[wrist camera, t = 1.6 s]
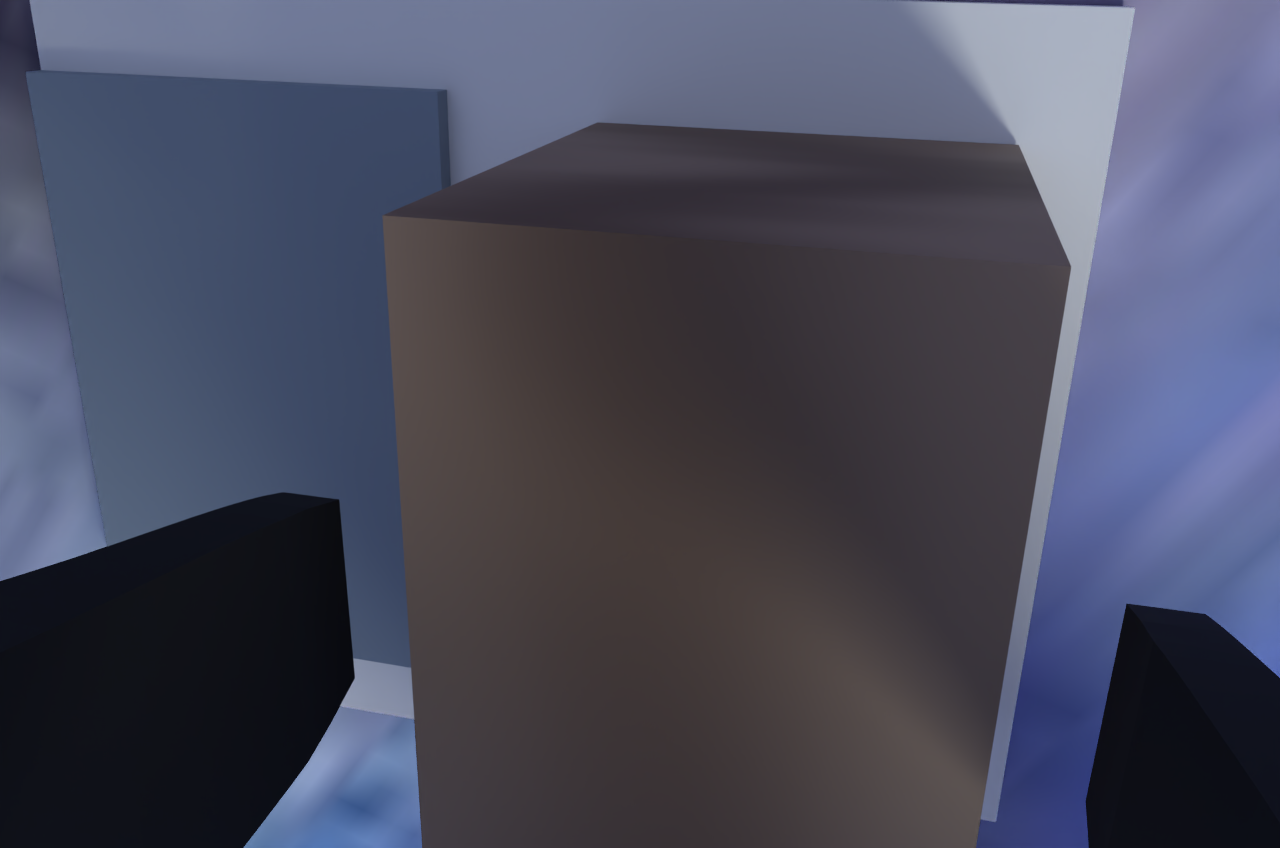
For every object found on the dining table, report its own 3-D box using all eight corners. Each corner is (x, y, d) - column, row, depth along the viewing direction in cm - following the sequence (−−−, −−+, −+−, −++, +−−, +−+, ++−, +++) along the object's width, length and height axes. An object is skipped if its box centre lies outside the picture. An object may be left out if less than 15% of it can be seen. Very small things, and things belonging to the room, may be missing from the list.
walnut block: (1017, 144, 13) (1071, 267, 8) (936, 726, 16) (932, 1110, 11) (597, 122, 14) (383, 215, 9) (593, 670, 17) (431, 993, 12)
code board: (1127, 6, 13) (1135, 7, 12) (994, 794, 17) (996, 824, 16) (57, -24, 16) (24, -23, 15) (163, 652, 20) (140, 672, 19)
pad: (447, 89, 14) (437, 91, 14) (470, 665, 18) (462, 676, 17) (41, 70, 16) (25, 71, 16) (131, 609, 19) (119, 619, 19)
